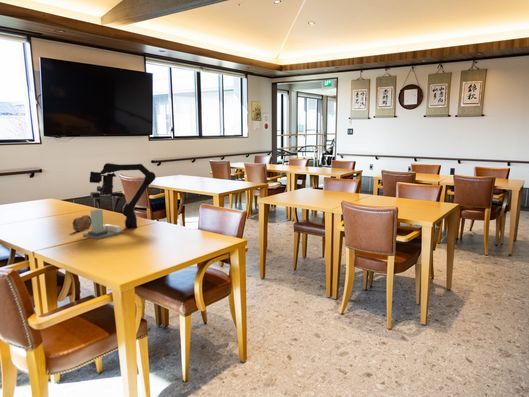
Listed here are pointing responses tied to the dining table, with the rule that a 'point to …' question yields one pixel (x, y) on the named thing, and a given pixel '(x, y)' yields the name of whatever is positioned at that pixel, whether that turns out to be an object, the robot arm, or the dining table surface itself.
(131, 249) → the dining table surface
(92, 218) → the post
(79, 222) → the tin
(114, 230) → the baseplate
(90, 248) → the dining table surface
